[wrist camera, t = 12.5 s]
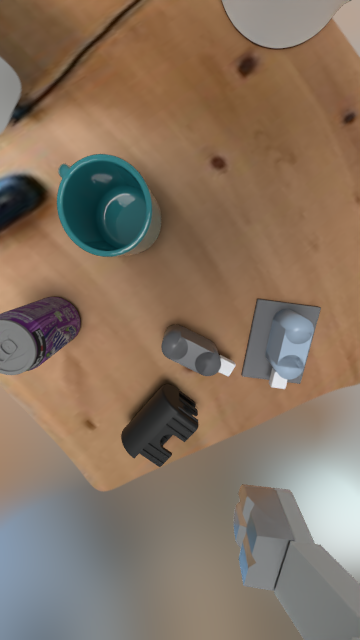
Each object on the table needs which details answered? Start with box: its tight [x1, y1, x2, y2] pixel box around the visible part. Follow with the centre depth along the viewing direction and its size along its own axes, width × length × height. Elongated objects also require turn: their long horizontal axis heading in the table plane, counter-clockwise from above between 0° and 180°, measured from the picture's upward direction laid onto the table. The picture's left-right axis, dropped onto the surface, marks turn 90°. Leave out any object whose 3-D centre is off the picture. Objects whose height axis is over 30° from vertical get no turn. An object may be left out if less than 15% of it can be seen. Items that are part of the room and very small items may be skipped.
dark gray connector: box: [162, 325, 236, 377], centre depth 38 cm, size 11×4×5 cm, turn 63°
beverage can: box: [0, 297, 80, 375], centre depth 34 cm, size 7×7×12 cm
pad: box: [241, 299, 321, 384], centre depth 39 cm, size 12×9×1 cm
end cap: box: [121, 384, 198, 467], centre depth 40 cm, size 10×7×7 cm
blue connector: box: [266, 309, 314, 389], centre depth 37 cm, size 11×4×5 cm, turn 173°
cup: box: [57, 154, 162, 257], centre depth 30 cm, size 9×12×11 cm
